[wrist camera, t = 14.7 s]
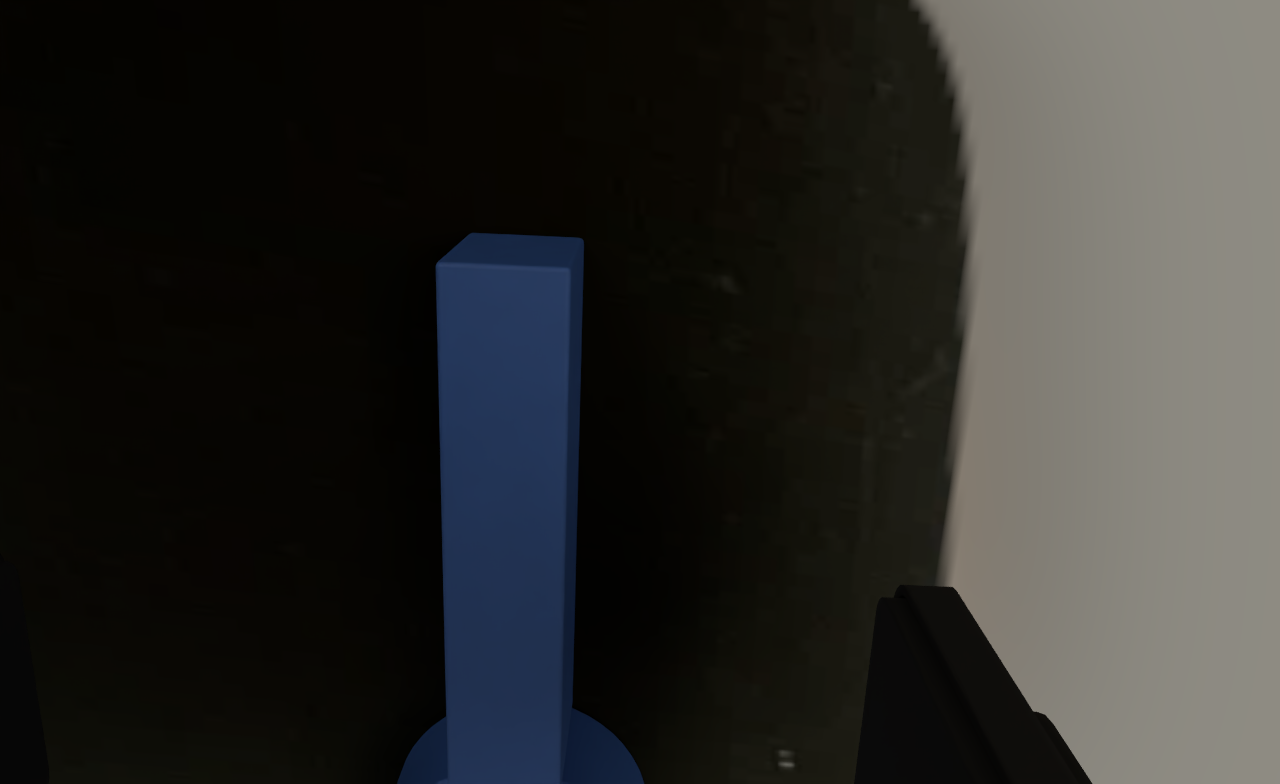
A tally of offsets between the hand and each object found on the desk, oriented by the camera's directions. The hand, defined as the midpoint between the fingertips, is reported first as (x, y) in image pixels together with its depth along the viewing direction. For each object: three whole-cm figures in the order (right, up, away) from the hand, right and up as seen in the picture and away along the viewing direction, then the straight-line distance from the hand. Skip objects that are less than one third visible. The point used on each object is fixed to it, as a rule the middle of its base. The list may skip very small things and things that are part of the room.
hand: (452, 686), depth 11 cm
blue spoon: (0, 0, +5) cm, 5 cm away
